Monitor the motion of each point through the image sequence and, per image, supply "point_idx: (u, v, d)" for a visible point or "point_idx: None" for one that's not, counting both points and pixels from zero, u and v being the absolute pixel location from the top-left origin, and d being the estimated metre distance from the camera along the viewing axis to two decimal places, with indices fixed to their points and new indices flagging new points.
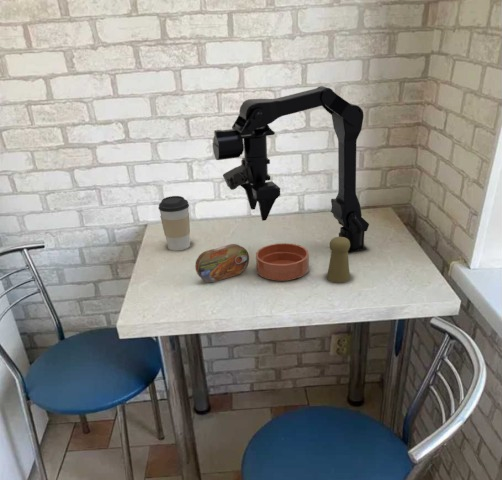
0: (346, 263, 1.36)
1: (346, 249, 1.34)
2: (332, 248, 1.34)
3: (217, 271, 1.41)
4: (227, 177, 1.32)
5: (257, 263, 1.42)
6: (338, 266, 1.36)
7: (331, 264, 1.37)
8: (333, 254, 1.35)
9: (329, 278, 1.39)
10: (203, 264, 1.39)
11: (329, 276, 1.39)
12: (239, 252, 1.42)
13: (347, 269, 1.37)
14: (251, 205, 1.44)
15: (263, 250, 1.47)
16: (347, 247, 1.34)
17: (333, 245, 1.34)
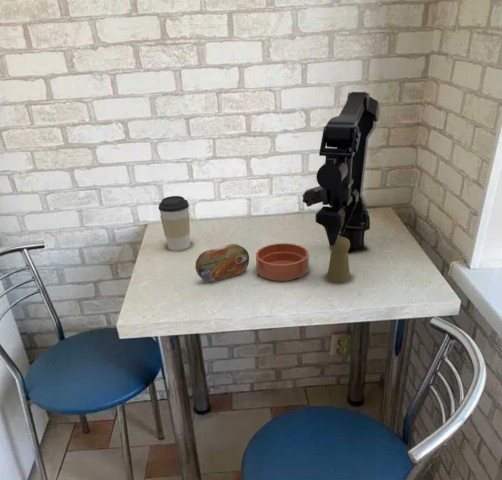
0: (346, 263, 1.36)
1: (346, 249, 1.34)
2: (332, 248, 1.34)
3: (217, 271, 1.41)
4: (305, 193, 1.31)
5: (257, 263, 1.42)
6: (338, 266, 1.36)
7: (331, 264, 1.37)
8: (333, 254, 1.35)
9: (329, 278, 1.39)
10: (203, 264, 1.39)
11: (329, 276, 1.39)
12: (239, 252, 1.42)
13: (347, 269, 1.37)
14: None
15: (263, 250, 1.47)
16: (347, 247, 1.34)
17: None
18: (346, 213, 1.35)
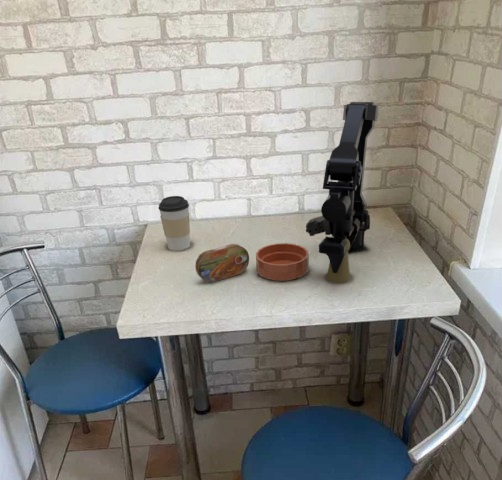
0: (346, 263, 1.36)
1: None
2: None
3: (217, 271, 1.41)
4: (308, 223, 1.34)
5: (257, 263, 1.42)
6: None
7: None
8: None
9: (329, 278, 1.39)
10: (203, 264, 1.39)
11: (329, 276, 1.39)
12: (239, 252, 1.42)
13: (347, 269, 1.37)
14: None
15: (263, 250, 1.47)
16: (347, 247, 1.34)
17: None
18: None
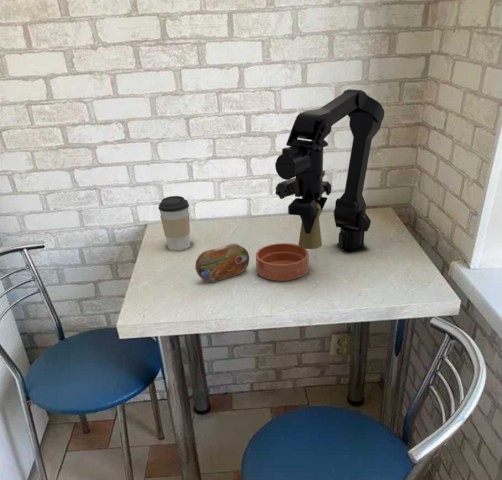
0: (317, 229, 1.34)
1: (317, 214, 1.32)
2: None
3: (217, 271, 1.41)
4: None
5: (257, 263, 1.42)
6: None
7: (302, 230, 1.35)
8: None
9: (300, 245, 1.37)
10: (203, 264, 1.39)
11: (300, 242, 1.37)
12: (239, 252, 1.42)
13: (318, 235, 1.35)
14: None
15: (263, 250, 1.47)
16: (318, 212, 1.32)
17: None
18: None
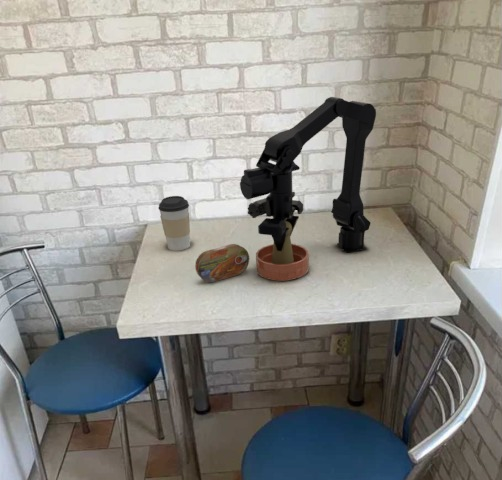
0: (288, 246, 1.40)
1: None
2: None
3: (217, 271, 1.41)
4: None
5: (257, 263, 1.42)
6: None
7: (274, 247, 1.41)
8: None
9: (273, 261, 1.43)
10: (203, 264, 1.39)
11: (273, 259, 1.43)
12: (239, 252, 1.42)
13: (290, 252, 1.41)
14: None
15: (263, 250, 1.47)
16: None
17: None
18: None
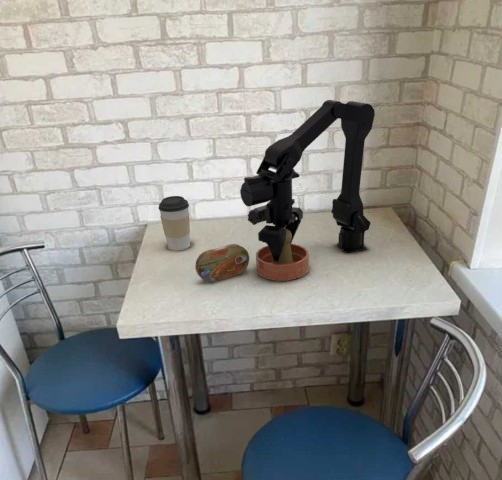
0: (288, 254, 1.41)
1: (287, 240, 1.39)
2: None
3: (217, 271, 1.41)
4: None
5: (257, 263, 1.42)
6: (281, 257, 1.41)
7: None
8: None
9: None
10: (203, 264, 1.39)
11: None
12: (239, 252, 1.42)
13: (290, 260, 1.42)
14: None
15: (263, 250, 1.47)
16: (288, 239, 1.39)
17: None
18: (291, 230, 1.44)
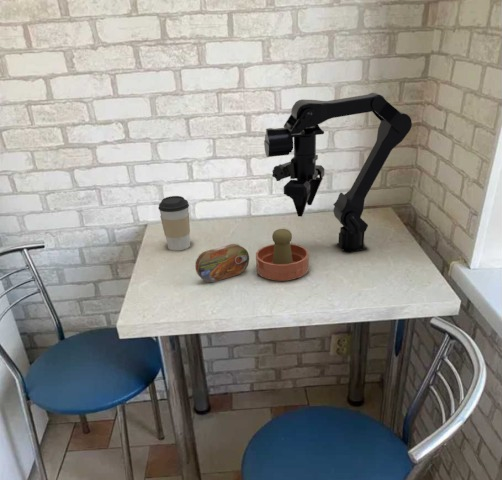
0: (288, 254, 1.41)
1: (287, 240, 1.39)
2: (274, 239, 1.39)
3: (217, 271, 1.41)
4: None
5: (257, 263, 1.42)
6: (281, 257, 1.41)
7: (274, 255, 1.42)
8: (276, 245, 1.40)
9: None
10: (203, 264, 1.39)
11: None
12: (239, 252, 1.42)
13: (290, 260, 1.42)
14: (307, 200, 1.50)
15: (263, 250, 1.47)
16: (288, 239, 1.39)
17: (275, 236, 1.39)
18: (313, 187, 1.48)
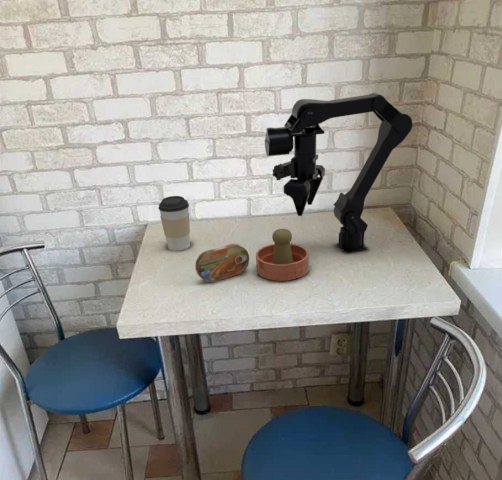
0: (288, 254, 1.41)
1: (287, 240, 1.39)
2: (274, 239, 1.39)
3: (217, 271, 1.41)
4: None
5: (257, 263, 1.42)
6: (281, 257, 1.41)
7: (274, 255, 1.42)
8: (276, 245, 1.40)
9: None
10: (203, 264, 1.39)
11: None
12: (239, 252, 1.42)
13: (290, 260, 1.42)
14: (308, 200, 1.50)
15: (263, 250, 1.47)
16: (288, 239, 1.39)
17: (275, 236, 1.39)
18: (313, 187, 1.48)
